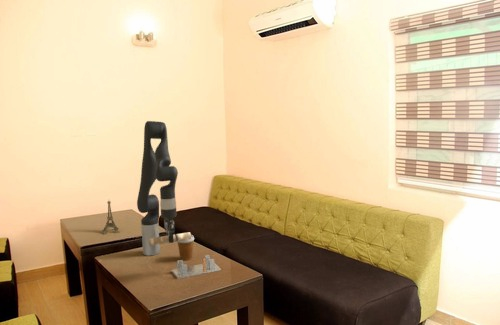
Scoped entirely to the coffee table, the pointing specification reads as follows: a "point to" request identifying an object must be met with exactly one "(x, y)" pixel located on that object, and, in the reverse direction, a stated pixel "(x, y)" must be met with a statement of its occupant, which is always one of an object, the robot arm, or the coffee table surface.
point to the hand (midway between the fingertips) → (170, 241)
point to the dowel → (166, 238)
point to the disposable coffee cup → (186, 248)
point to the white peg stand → (195, 268)
